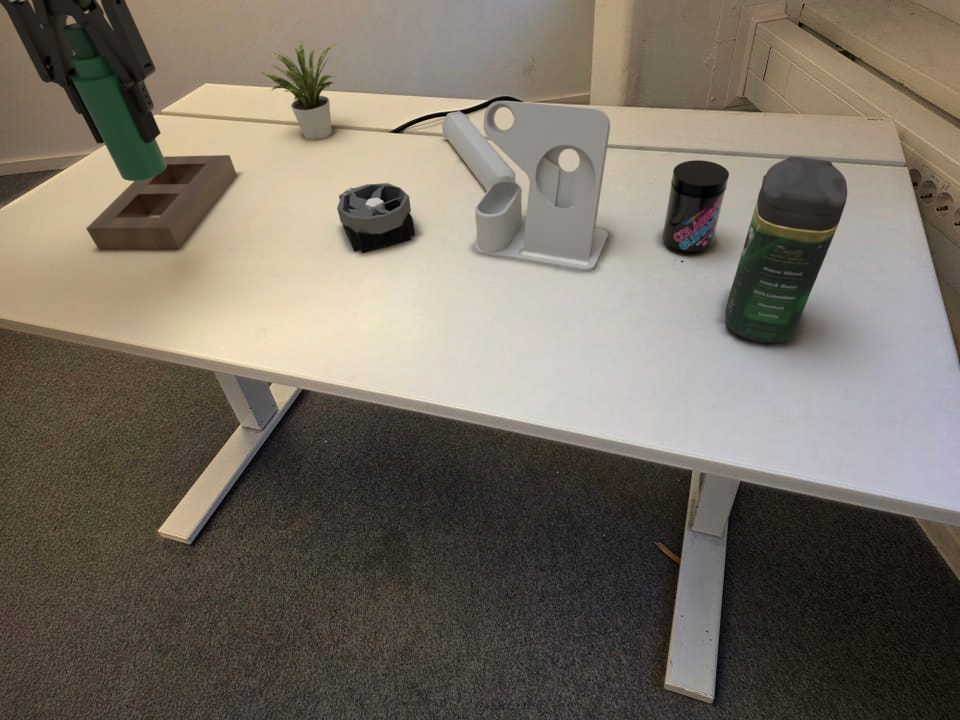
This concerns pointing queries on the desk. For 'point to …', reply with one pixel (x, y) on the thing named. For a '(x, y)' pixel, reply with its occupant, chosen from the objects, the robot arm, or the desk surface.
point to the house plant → (307, 94)
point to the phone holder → (546, 186)
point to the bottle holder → (164, 205)
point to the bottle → (111, 109)
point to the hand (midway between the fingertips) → (129, 137)
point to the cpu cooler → (375, 216)
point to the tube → (476, 150)
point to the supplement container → (694, 206)
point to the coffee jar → (785, 248)
